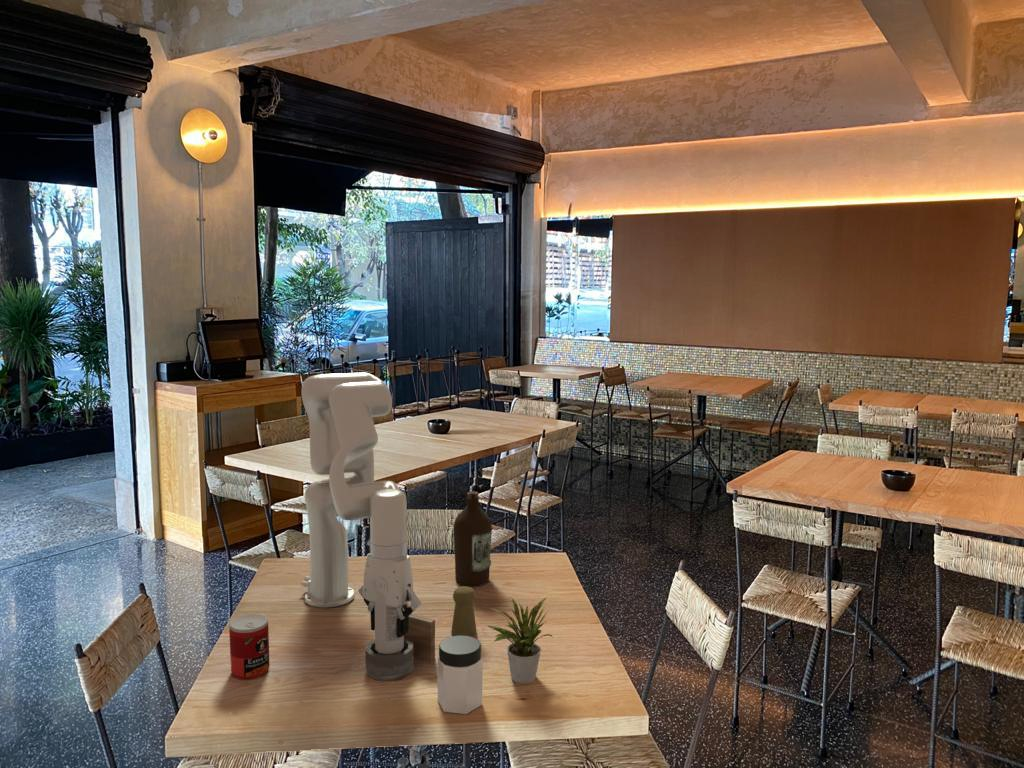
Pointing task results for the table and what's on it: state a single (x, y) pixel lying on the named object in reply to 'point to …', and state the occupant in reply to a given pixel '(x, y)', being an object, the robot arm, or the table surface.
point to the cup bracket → (403, 651)
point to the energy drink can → (386, 628)
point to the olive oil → (472, 543)
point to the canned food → (249, 646)
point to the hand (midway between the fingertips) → (389, 630)
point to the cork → (464, 612)
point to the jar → (460, 674)
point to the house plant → (522, 642)
